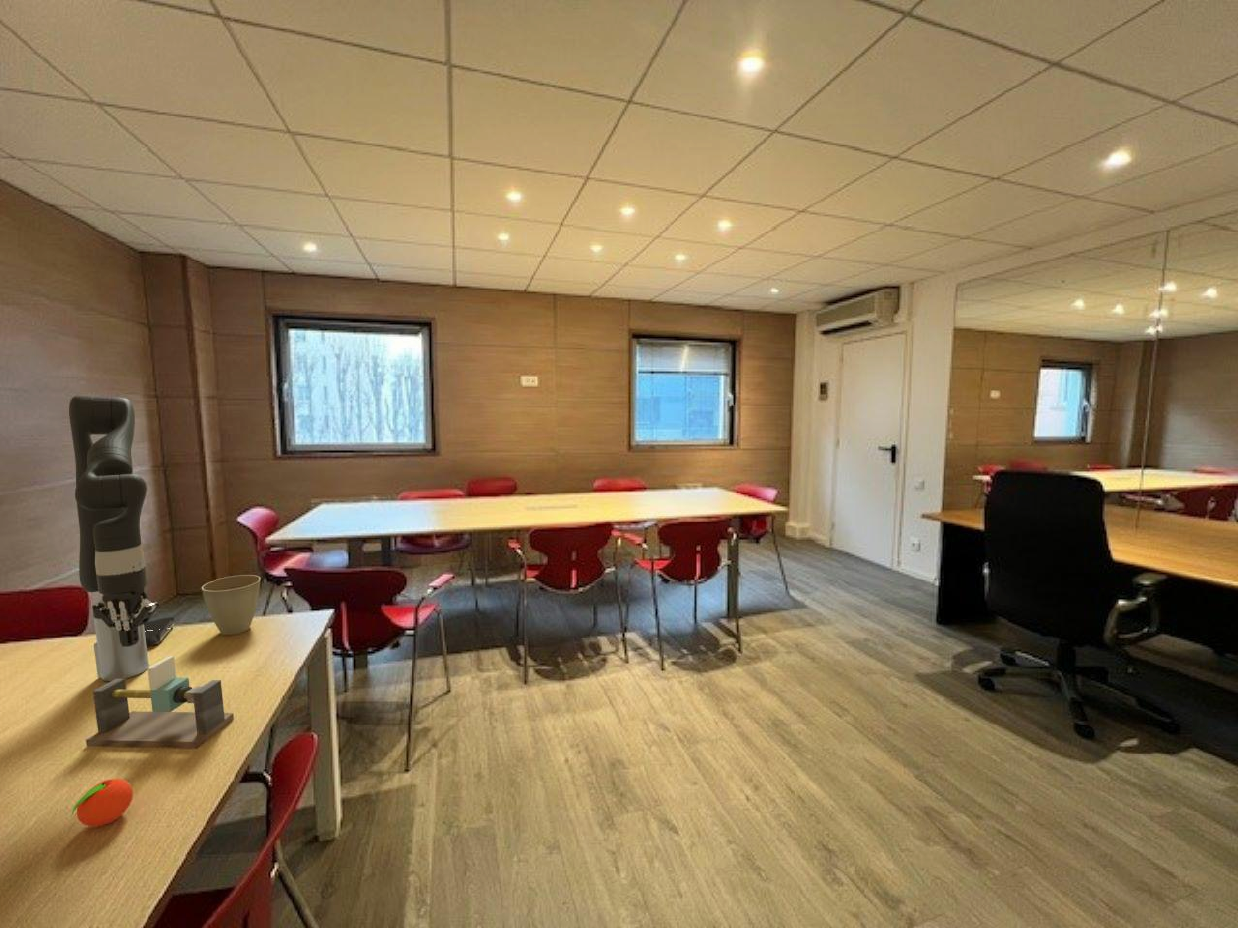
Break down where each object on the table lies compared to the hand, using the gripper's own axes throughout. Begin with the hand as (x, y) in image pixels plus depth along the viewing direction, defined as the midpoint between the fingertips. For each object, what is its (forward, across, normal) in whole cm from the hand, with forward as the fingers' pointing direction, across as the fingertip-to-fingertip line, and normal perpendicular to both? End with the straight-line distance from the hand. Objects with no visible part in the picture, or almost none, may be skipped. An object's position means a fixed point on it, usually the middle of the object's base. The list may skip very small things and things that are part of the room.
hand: (130, 644), depth 110 cm
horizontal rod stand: (+20, +5, 0) cm, 21 cm away
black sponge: (+22, -40, +44) cm, 63 cm away
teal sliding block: (+14, +8, 0) cm, 16 cm away
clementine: (+20, +17, -24) cm, 36 cm away
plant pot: (+21, -18, +50) cm, 57 cm away
